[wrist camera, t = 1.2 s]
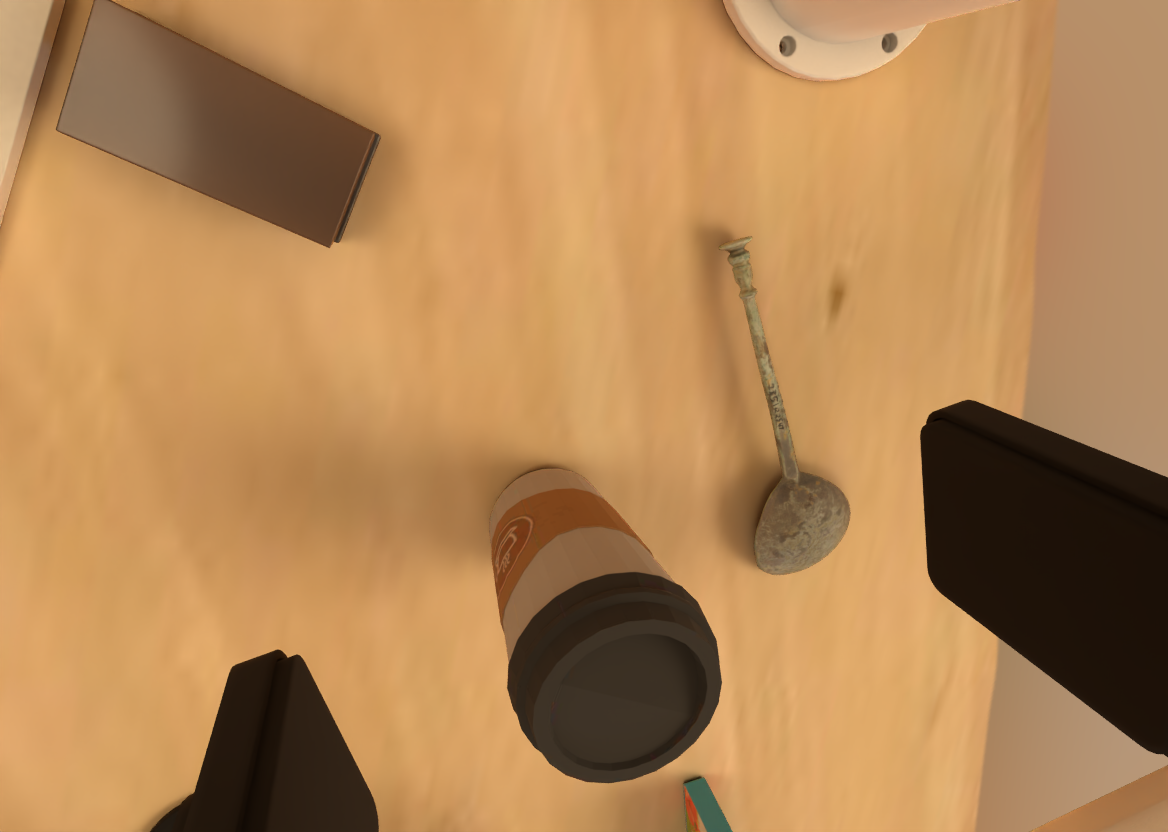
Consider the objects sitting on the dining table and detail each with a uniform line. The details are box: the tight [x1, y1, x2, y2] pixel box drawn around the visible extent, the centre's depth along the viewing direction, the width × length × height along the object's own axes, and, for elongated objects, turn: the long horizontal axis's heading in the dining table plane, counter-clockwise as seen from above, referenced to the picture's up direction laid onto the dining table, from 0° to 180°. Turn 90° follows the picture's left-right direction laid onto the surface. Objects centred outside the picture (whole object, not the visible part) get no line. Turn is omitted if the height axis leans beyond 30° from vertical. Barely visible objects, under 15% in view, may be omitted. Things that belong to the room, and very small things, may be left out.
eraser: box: [56, 0, 380, 248], centre depth 28 cm, size 5×10×4 cm, turn 64°
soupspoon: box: [719, 237, 851, 575], centre depth 40 cm, size 22×3×7 cm
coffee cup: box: [489, 468, 722, 783], centre depth 33 cm, size 8×8×15 cm
